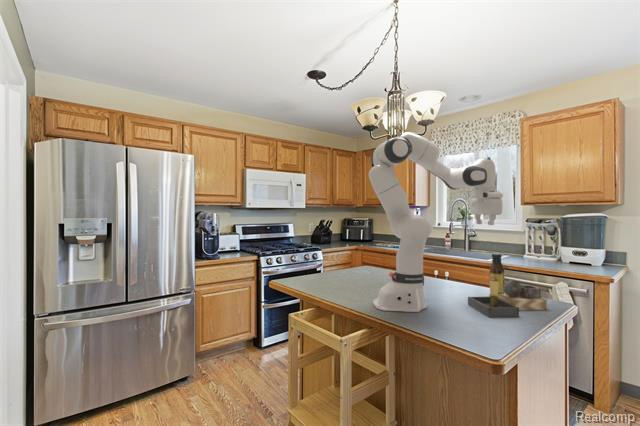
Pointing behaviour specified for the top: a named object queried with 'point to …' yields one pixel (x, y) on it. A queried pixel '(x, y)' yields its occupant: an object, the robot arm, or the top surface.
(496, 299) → the pin
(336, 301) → the top surface
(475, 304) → the tray
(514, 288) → the block
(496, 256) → the sauce bottle
